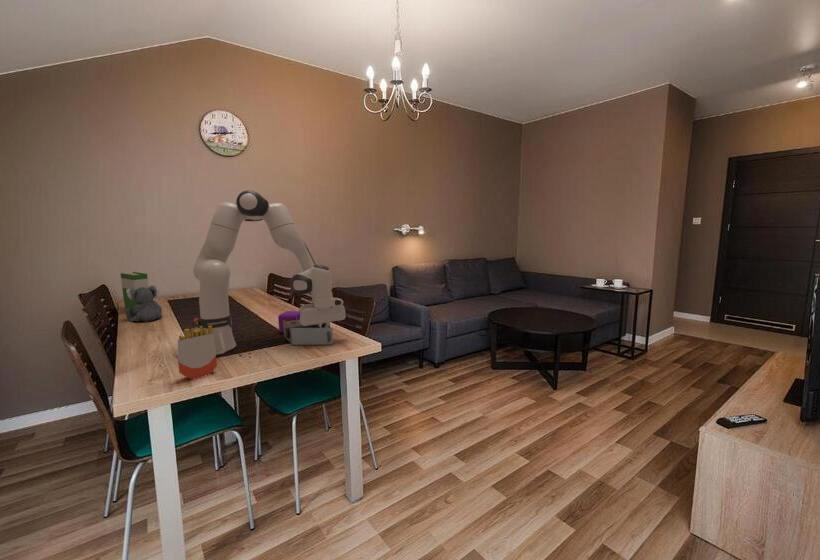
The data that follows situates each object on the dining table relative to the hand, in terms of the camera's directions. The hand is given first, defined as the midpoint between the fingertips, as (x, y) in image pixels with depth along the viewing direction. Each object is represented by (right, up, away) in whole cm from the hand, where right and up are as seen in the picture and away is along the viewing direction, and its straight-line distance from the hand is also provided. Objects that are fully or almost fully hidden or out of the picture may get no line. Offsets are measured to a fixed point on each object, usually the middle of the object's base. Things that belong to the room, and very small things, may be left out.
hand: (323, 332), depth 164 cm
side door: (-5, -5, -2) cm, 7 cm away
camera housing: (-10, -4, +9) cm, 13 cm away
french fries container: (-37, -11, -33) cm, 51 cm away
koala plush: (-112, +1, +46) cm, 121 cm away
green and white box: (-131, +3, +65) cm, 146 cm away
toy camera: (-19, -3, +20) cm, 28 cm away
